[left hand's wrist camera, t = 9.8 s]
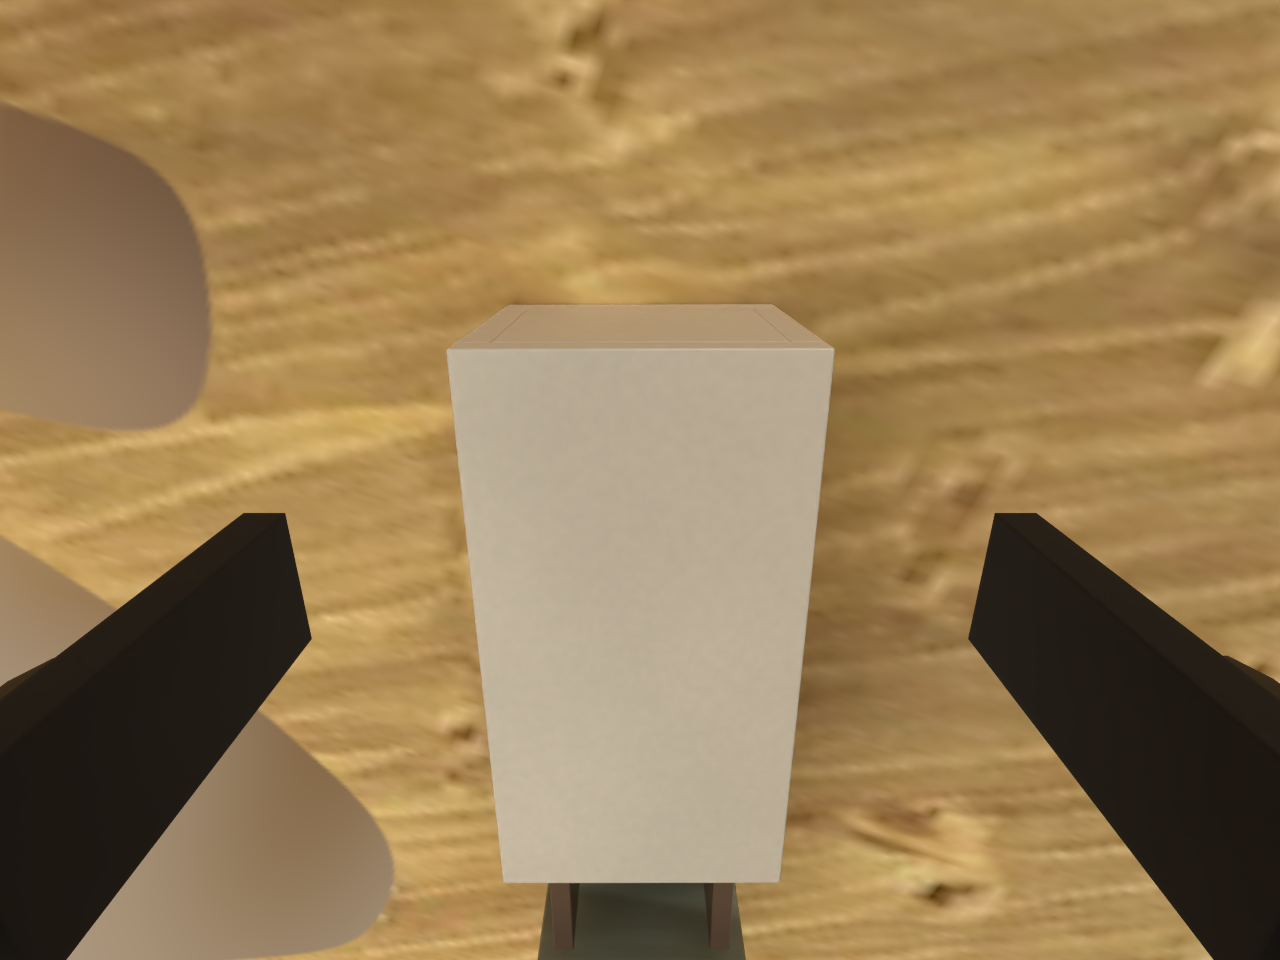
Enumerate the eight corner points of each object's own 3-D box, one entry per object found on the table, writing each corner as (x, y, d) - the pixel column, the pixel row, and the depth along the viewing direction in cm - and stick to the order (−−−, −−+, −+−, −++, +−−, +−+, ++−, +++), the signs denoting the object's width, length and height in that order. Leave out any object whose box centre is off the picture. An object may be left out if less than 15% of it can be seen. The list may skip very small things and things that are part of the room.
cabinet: (745, 715, 33) (780, 883, 25) (537, 715, 33) (502, 883, 25) (773, 303, 26) (836, 348, 18) (507, 304, 26) (444, 348, 18)
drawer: (722, 932, 37) (740, 1083, 31) (560, 932, 37) (543, 1084, 31) (747, 536, 28) (779, 633, 22) (534, 537, 28) (503, 633, 22)
